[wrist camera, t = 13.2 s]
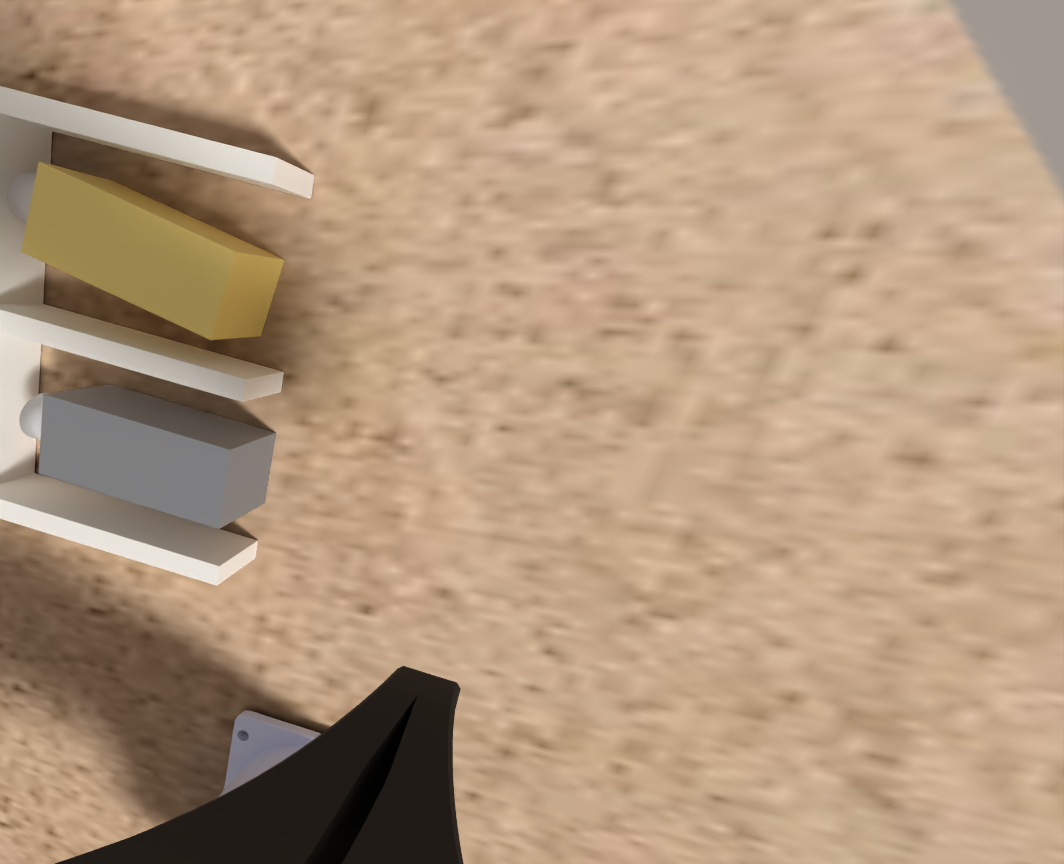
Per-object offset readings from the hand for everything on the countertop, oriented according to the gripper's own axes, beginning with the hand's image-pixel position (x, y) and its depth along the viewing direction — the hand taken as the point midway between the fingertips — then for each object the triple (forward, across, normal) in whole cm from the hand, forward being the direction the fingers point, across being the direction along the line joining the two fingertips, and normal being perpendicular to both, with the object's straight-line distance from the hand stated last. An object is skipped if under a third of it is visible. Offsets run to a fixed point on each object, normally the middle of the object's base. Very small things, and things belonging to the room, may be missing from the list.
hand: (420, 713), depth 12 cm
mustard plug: (+10, +14, -7) cm, 18 cm away
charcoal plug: (+10, +13, 0) cm, 16 cm away
